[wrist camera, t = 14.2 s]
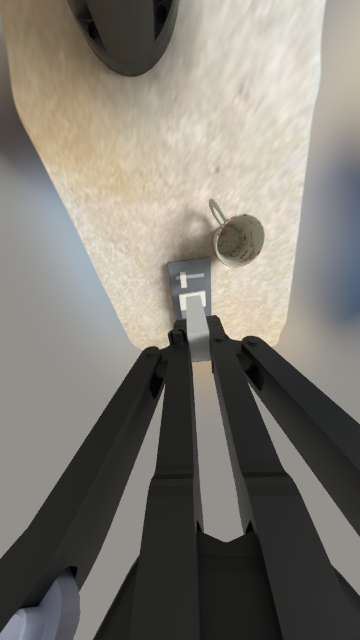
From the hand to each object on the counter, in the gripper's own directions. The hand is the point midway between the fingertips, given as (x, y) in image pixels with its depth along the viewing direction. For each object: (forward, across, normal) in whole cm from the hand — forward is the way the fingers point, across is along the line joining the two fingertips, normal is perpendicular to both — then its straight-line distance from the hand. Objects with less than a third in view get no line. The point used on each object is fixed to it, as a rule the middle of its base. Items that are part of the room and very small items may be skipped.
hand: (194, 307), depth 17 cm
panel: (+25, 0, -10) cm, 27 cm away
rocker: (+21, 0, -8) cm, 23 cm away
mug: (+25, +8, +5) cm, 27 cm away
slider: (+23, -2, -3) cm, 23 cm away
